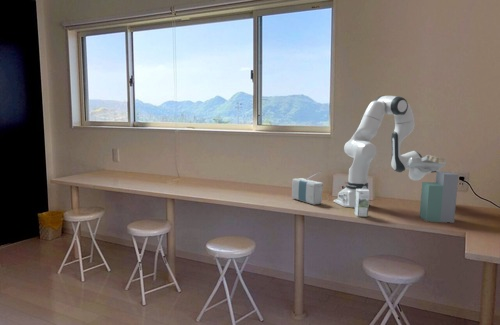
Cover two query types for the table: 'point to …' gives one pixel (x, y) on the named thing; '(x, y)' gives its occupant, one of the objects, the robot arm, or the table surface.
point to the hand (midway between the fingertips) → (431, 157)
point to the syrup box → (362, 202)
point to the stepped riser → (439, 198)
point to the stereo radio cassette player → (307, 190)
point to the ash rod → (436, 159)
